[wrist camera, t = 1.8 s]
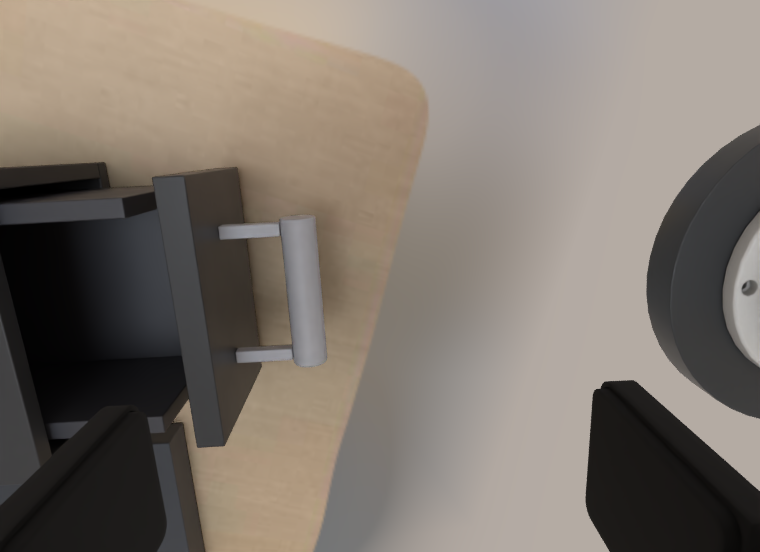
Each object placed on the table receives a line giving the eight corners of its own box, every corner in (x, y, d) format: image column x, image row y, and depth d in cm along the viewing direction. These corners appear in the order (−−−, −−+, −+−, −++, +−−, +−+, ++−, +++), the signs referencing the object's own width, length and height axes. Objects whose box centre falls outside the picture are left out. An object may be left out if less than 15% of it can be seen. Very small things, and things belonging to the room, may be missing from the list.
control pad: (182, 422, 30) (156, 462, 26) (205, 554, 33) (184, 609, 29) (-14, 434, 30) (-70, 477, 26) (25, 566, 32) (-21, 623, 29)
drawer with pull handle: (319, 162, 25) (301, 168, 18) (335, 362, 28) (325, 440, 21) (-24, 180, 25) (-190, 194, 18) (28, 381, 28) (-96, 466, 21)
